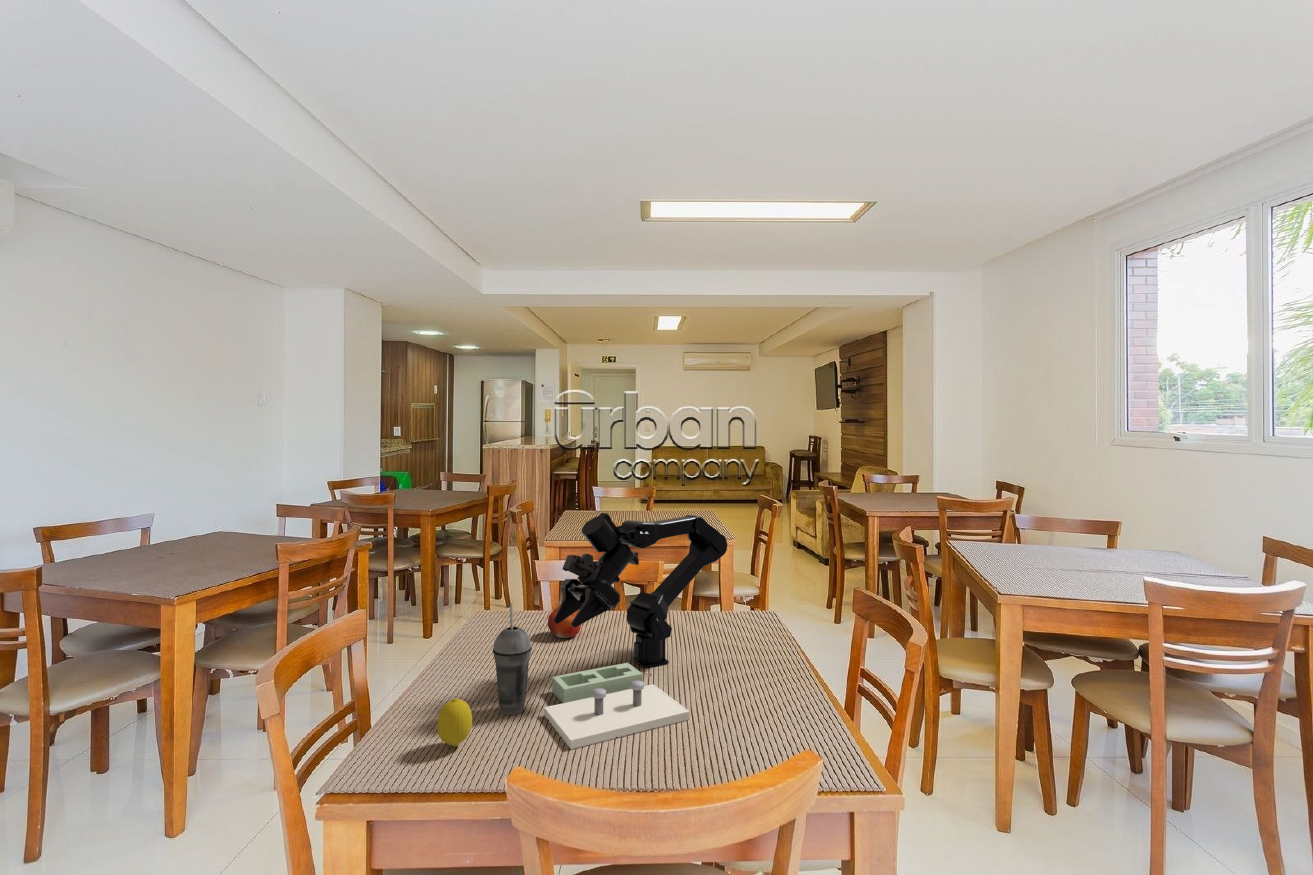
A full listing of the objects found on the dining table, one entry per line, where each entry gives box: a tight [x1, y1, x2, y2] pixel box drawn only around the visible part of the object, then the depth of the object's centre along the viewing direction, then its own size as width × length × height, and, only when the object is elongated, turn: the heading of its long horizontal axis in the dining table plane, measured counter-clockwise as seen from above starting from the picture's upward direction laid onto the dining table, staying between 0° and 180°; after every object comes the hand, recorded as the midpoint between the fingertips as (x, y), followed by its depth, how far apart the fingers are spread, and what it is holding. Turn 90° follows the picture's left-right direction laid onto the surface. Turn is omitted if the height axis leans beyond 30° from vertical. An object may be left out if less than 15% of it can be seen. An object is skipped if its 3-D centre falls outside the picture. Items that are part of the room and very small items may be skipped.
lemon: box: [436, 697, 473, 748], centre depth 100 cm, size 6×6×8 cm
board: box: [543, 680, 690, 750], centre depth 111 cm, size 23×14×6 cm, turn 119°
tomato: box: [547, 605, 583, 639], centre depth 158 cm, size 9×9×8 cm
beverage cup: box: [492, 602, 533, 716], centre depth 114 cm, size 7×7×20 cm
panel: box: [551, 662, 644, 704], centre depth 123 cm, size 17×7×3 cm, turn 119°
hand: (563, 624), depth 124 cm, fingers open, 9 cm apart
